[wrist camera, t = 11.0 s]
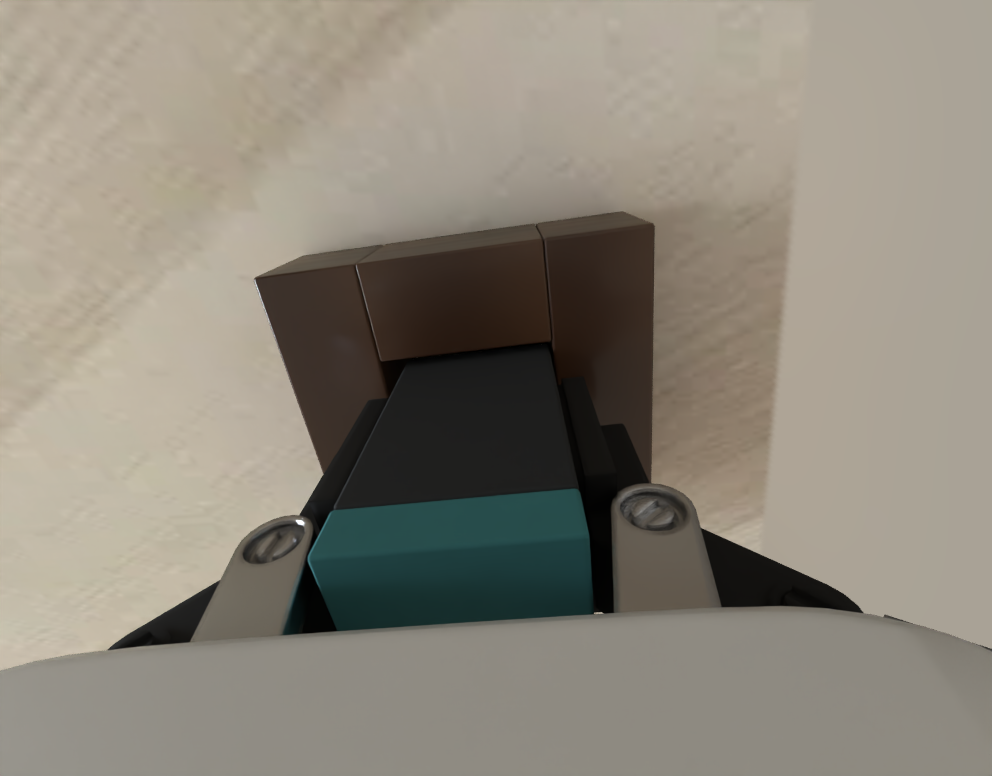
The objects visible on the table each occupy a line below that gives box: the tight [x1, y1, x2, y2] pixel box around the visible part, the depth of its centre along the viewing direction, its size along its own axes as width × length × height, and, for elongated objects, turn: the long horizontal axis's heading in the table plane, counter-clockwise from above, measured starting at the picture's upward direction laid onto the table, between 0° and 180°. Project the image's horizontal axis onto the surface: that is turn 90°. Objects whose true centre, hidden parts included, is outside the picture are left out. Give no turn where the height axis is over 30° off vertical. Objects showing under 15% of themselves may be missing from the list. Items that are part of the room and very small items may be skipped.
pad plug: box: [308, 344, 594, 631], centre depth 10 cm, size 4×4×7 cm
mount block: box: [254, 212, 655, 483], centre depth 14 cm, size 9×9×3 cm
